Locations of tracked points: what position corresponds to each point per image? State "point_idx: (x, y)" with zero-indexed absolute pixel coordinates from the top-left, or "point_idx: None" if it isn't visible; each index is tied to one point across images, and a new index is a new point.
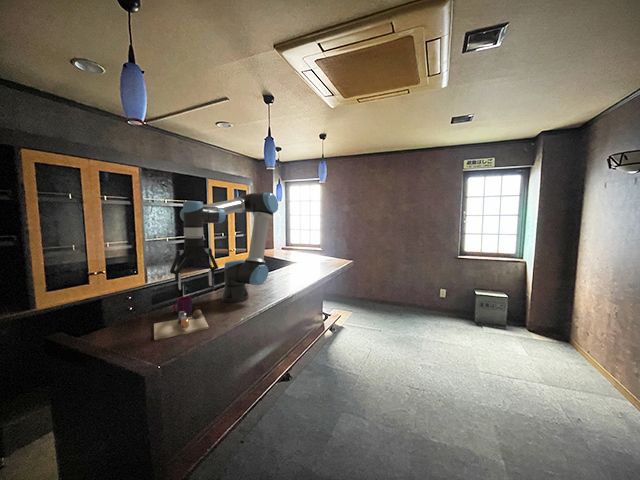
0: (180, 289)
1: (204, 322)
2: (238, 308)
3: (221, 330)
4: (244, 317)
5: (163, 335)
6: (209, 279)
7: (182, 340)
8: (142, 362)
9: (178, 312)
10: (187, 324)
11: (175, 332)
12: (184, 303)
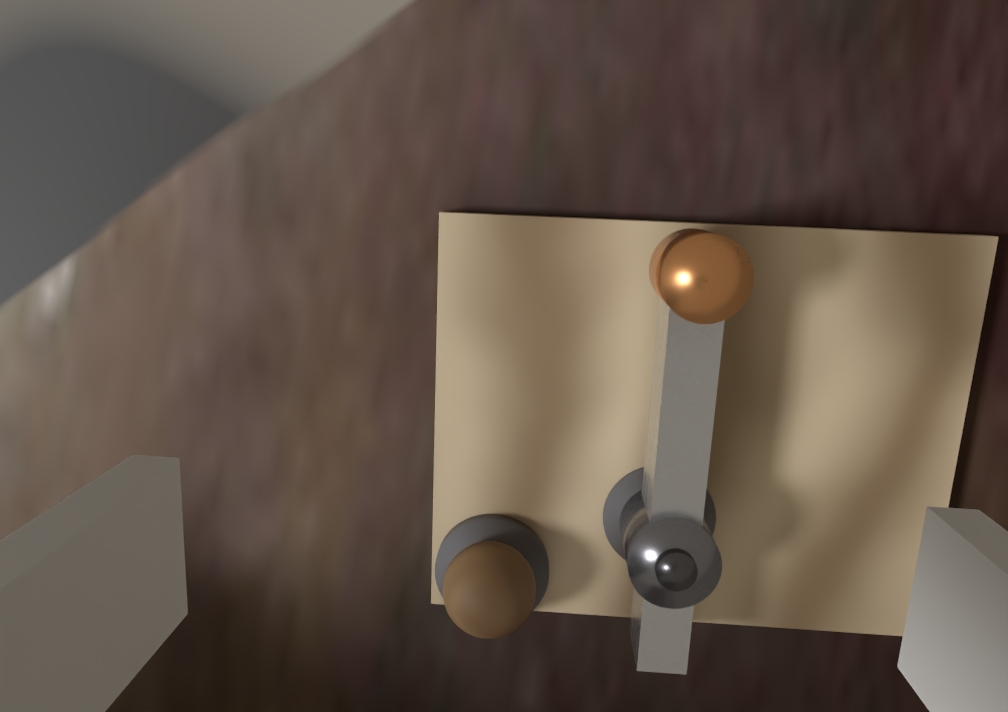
0: (945, 509)
1: (457, 362)
2: None
3: (331, 79)
4: (25, 303)
5: (906, 249)
6: (78, 609)
7: (744, 59)
8: None
9: None
10: (674, 238)
11: (784, 256)
12: None
